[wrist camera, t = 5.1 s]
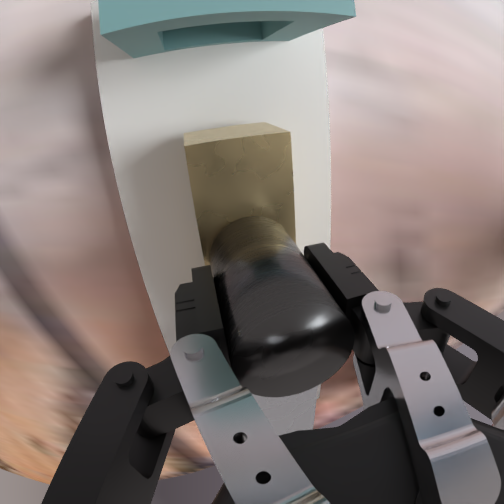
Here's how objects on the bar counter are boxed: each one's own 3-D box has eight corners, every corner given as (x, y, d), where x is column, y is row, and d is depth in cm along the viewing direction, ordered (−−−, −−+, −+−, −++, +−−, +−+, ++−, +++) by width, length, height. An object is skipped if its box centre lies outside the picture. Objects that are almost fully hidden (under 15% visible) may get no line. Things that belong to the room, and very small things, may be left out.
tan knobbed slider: (264, 122, 15) (379, 171, 6) (282, 387, 25) (320, 490, 16) (183, 133, 14) (187, 197, 6) (235, 397, 24) (262, 506, 16)
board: (303, -11, 14) (316, -20, 12) (312, 383, 31) (319, 398, 29) (99, 10, 12) (90, 1, 10) (198, 409, 29) (200, 425, 27)
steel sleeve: (287, 290, 21) (320, 352, 16) (290, 404, 28) (309, 455, 23) (199, 308, 21) (209, 378, 15) (230, 418, 28) (242, 471, 22)
